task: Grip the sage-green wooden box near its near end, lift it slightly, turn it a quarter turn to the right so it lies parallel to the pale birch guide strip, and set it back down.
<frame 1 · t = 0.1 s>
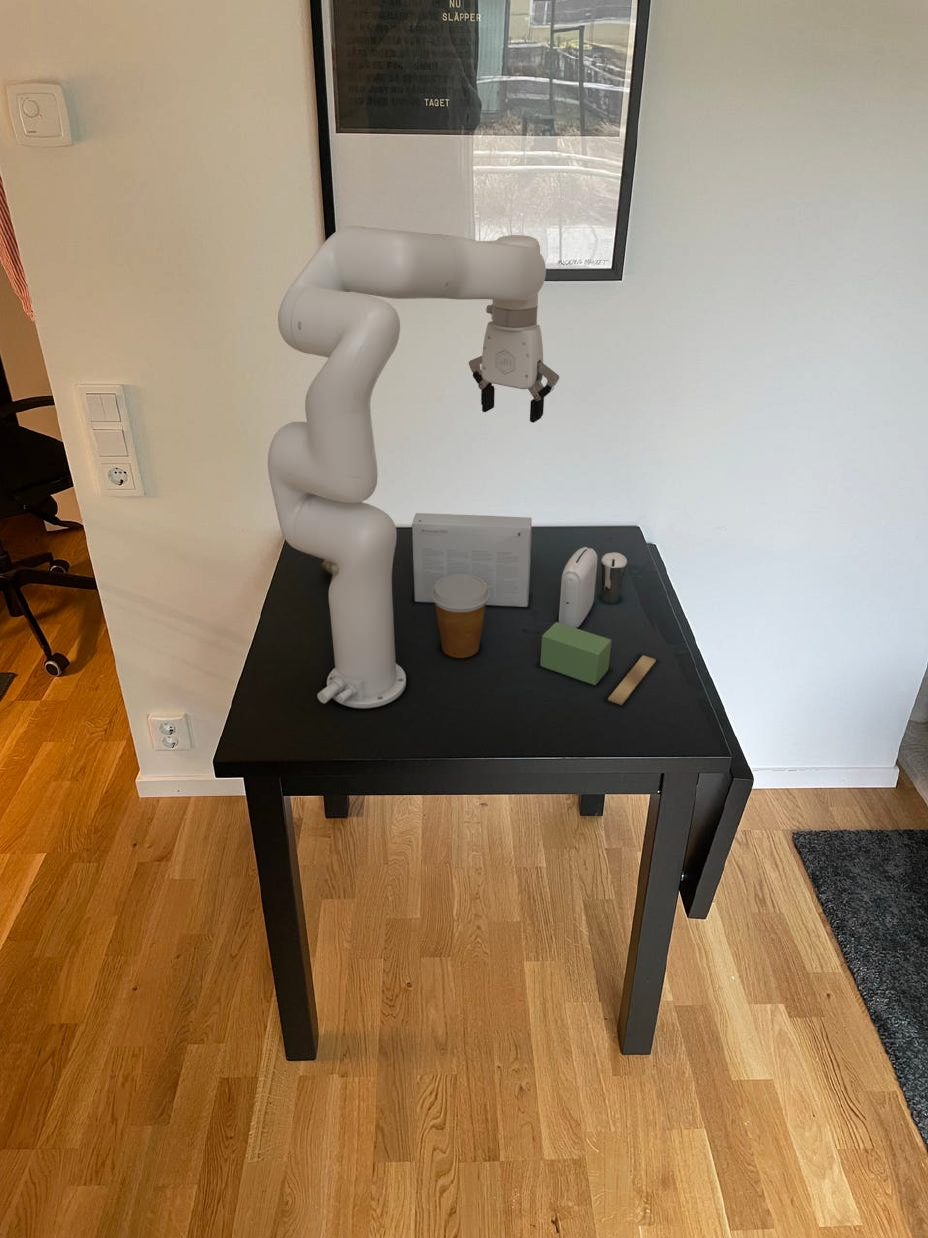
hand: (511, 414, 160), 31 cm above the table, tool pointing down, fingers open, 9 cm apart
milkshake: (609, 600, 167), on the table
disposable coffee cup: (460, 648, 153), on the table
guide strip: (632, 680, 146), on the table
ceramic sculpture: (351, 584, 171), on the table
green box: (574, 668, 148), on the table
skincare box: (471, 598, 167), on the table
photo printer: (576, 615, 162), on the table
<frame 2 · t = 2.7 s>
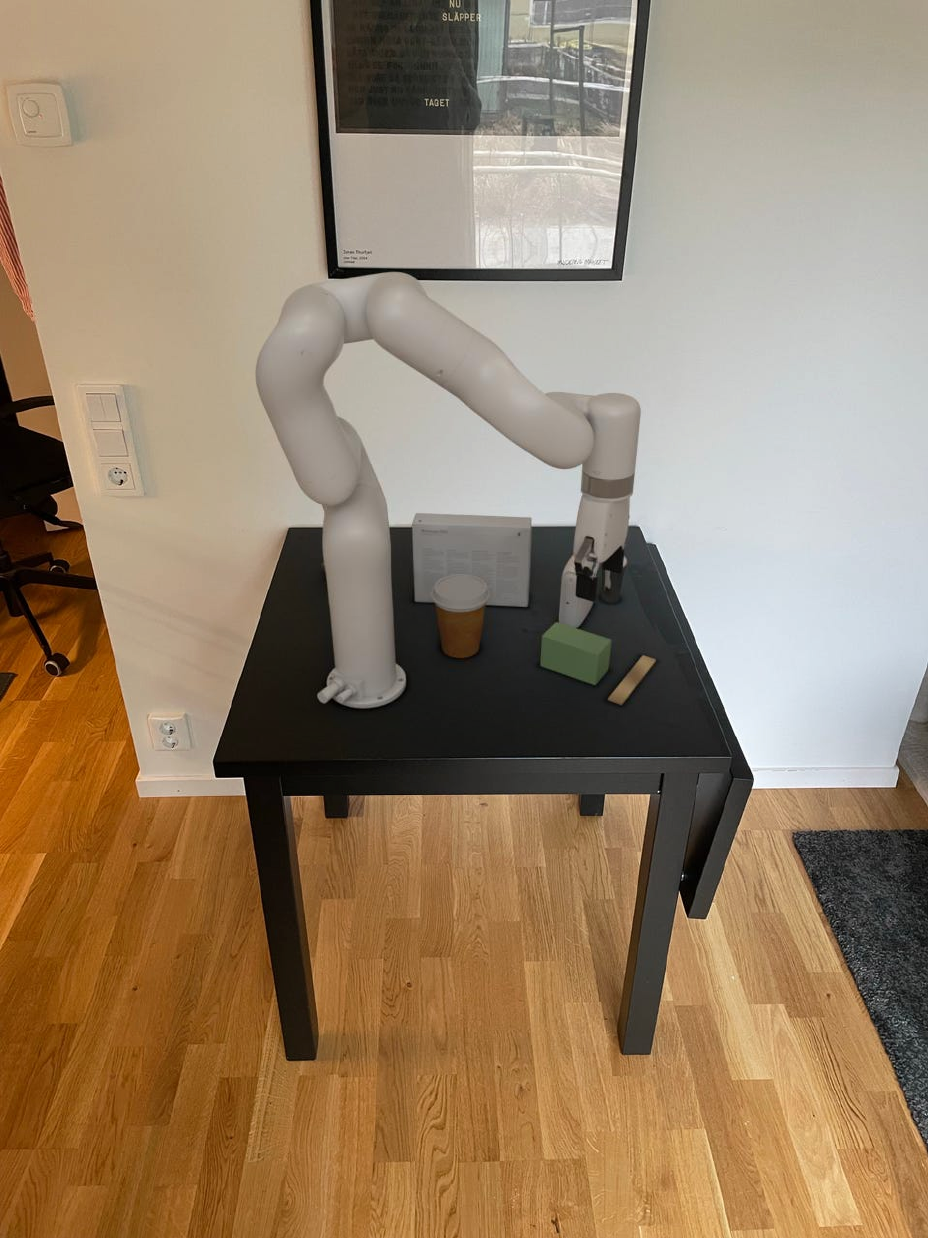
hand: (599, 584, 139), 17 cm above the table, tool pointing down, fingers open, 9 cm apart
nothing on the table moved.
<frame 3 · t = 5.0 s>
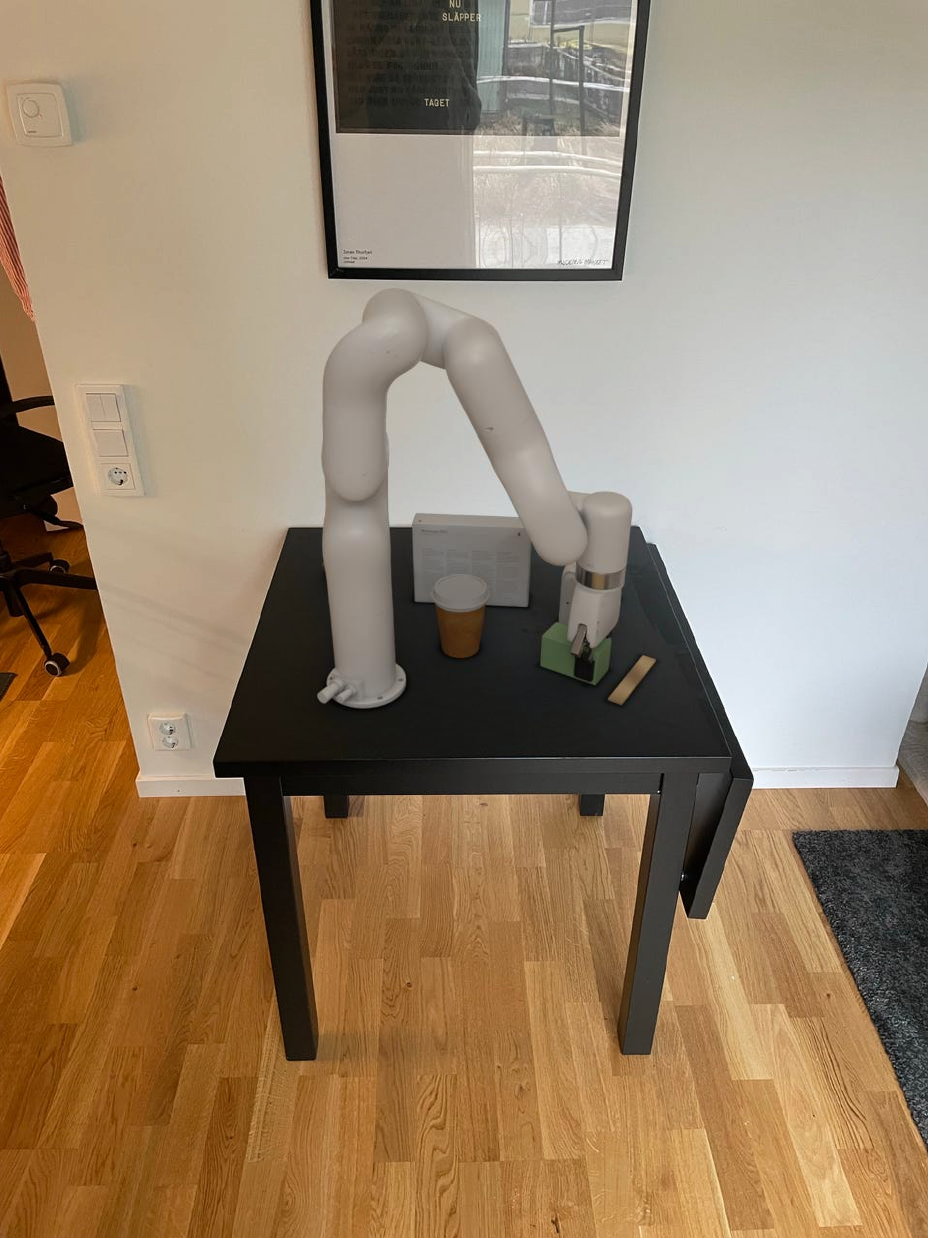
hand: (591, 668, 147), 1 cm above the table, tool pointing down, fingers closed on green box, 5 cm apart
green box: (574, 668, 148), on the table, touching gripper
everything else where it was.
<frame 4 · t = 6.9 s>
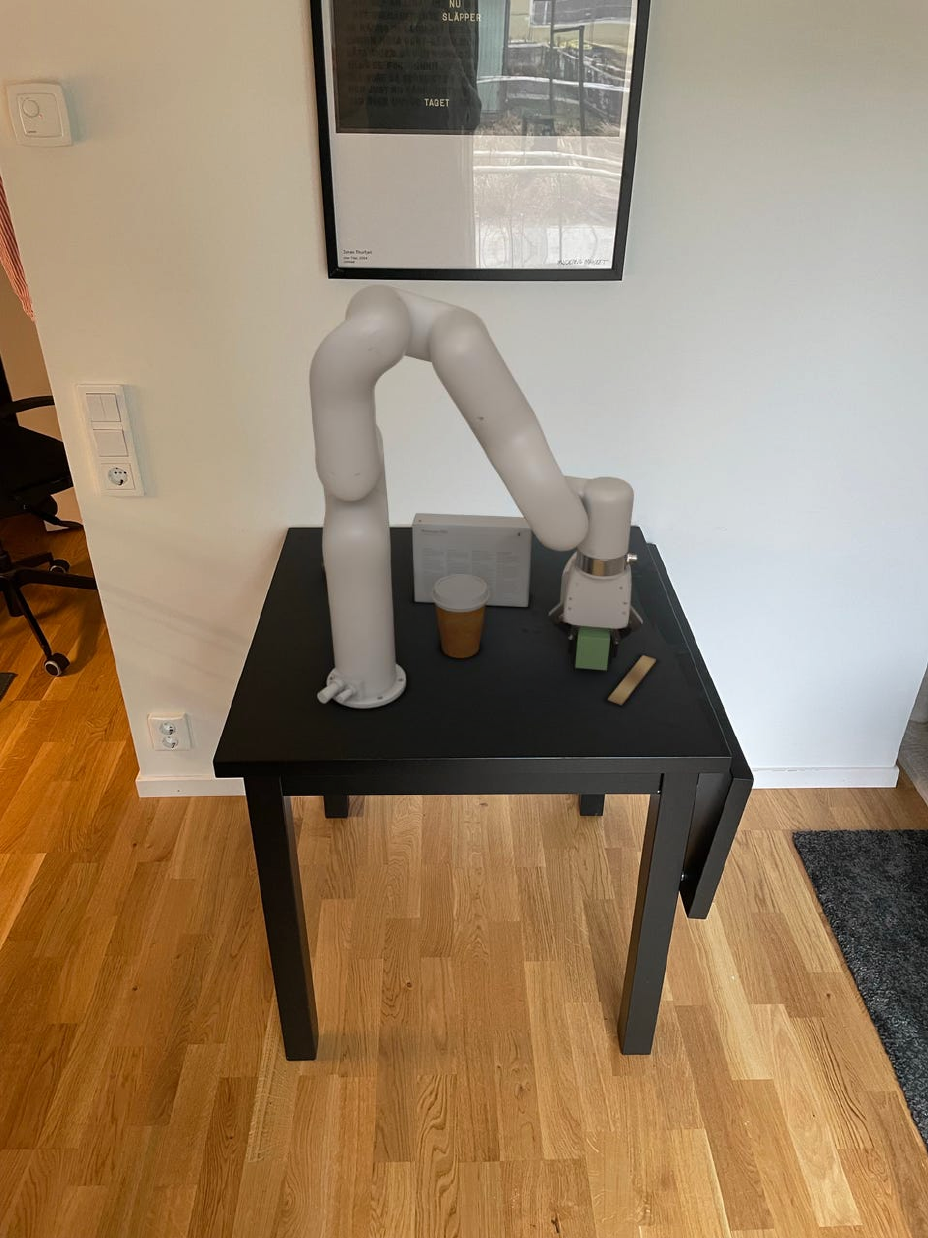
hand: (591, 657, 145), 3 cm above the table, tool pointing down, fingers closed on green box, 5 cm apart
green box: (591, 651, 148), point 2 cm above the table, touching gripper
everything else where it was.
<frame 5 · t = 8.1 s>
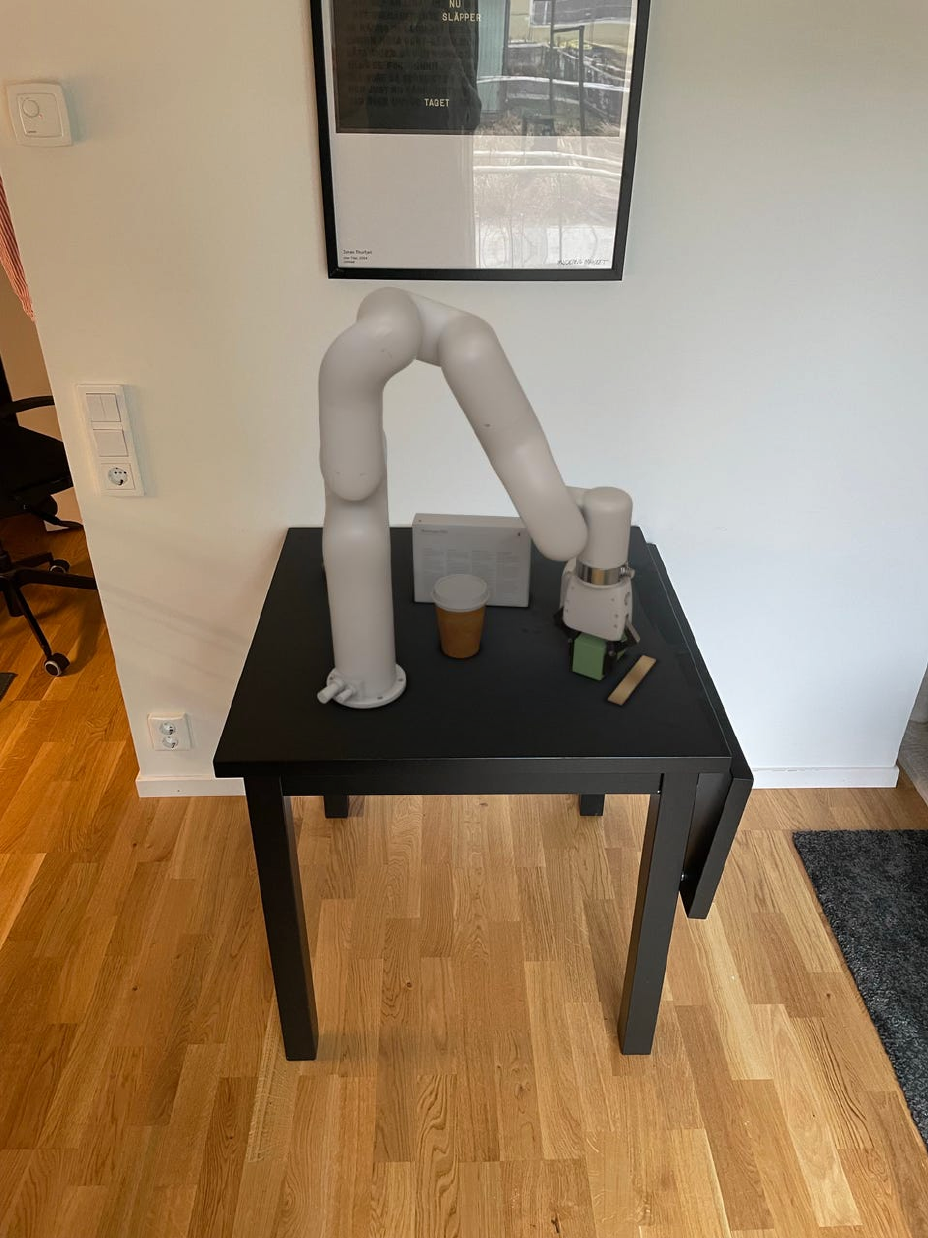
hand: (591, 664, 146), 2 cm above the table, tool pointing down, fingers closed on green box, 5 cm apart
green box: (599, 660, 149), point 1 cm above the table, touching gripper
everything else where it was.
when the fingers open (1 cm above the table, at t = 8.7 s): green box stays where it is, on the table.
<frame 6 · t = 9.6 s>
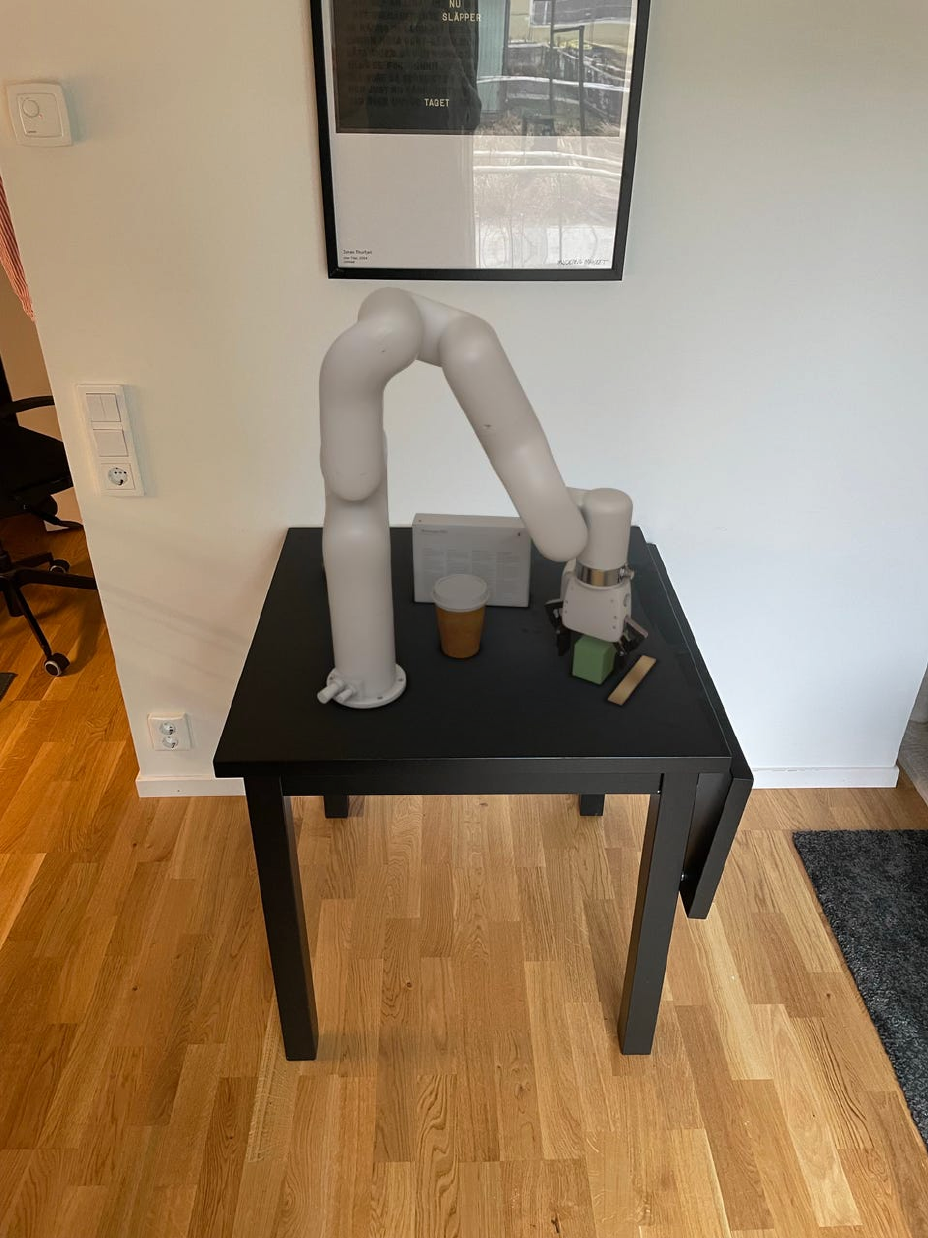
hand: (590, 661, 146), 2 cm above the table, tool pointing down, fingers open, 9 cm apart
green box: (599, 664, 149), on the table
everything else where it was.
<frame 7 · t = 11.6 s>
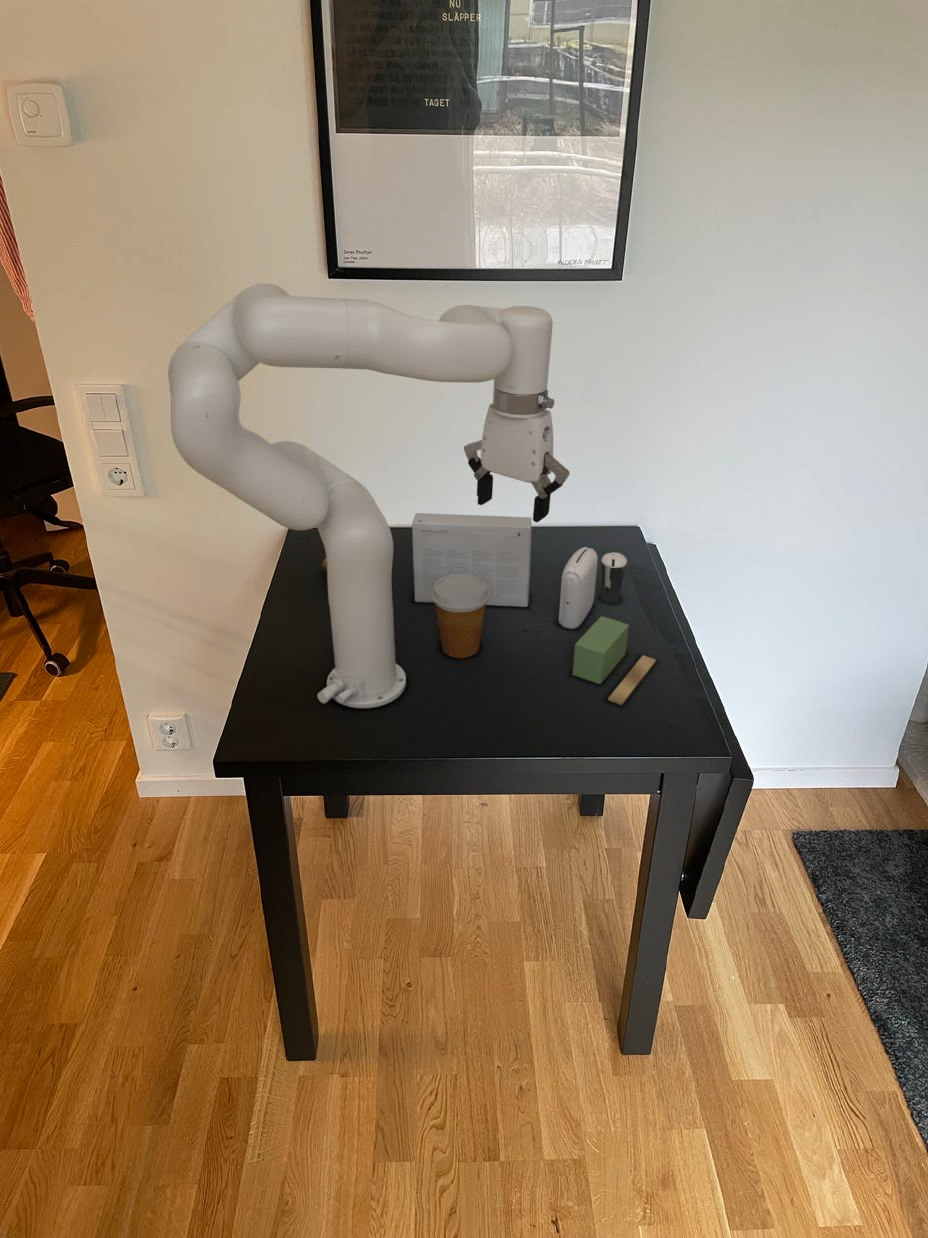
hand: (511, 510, 136), 27 cm above the table, tool pointing down, fingers open, 9 cm apart
nothing on the table moved.
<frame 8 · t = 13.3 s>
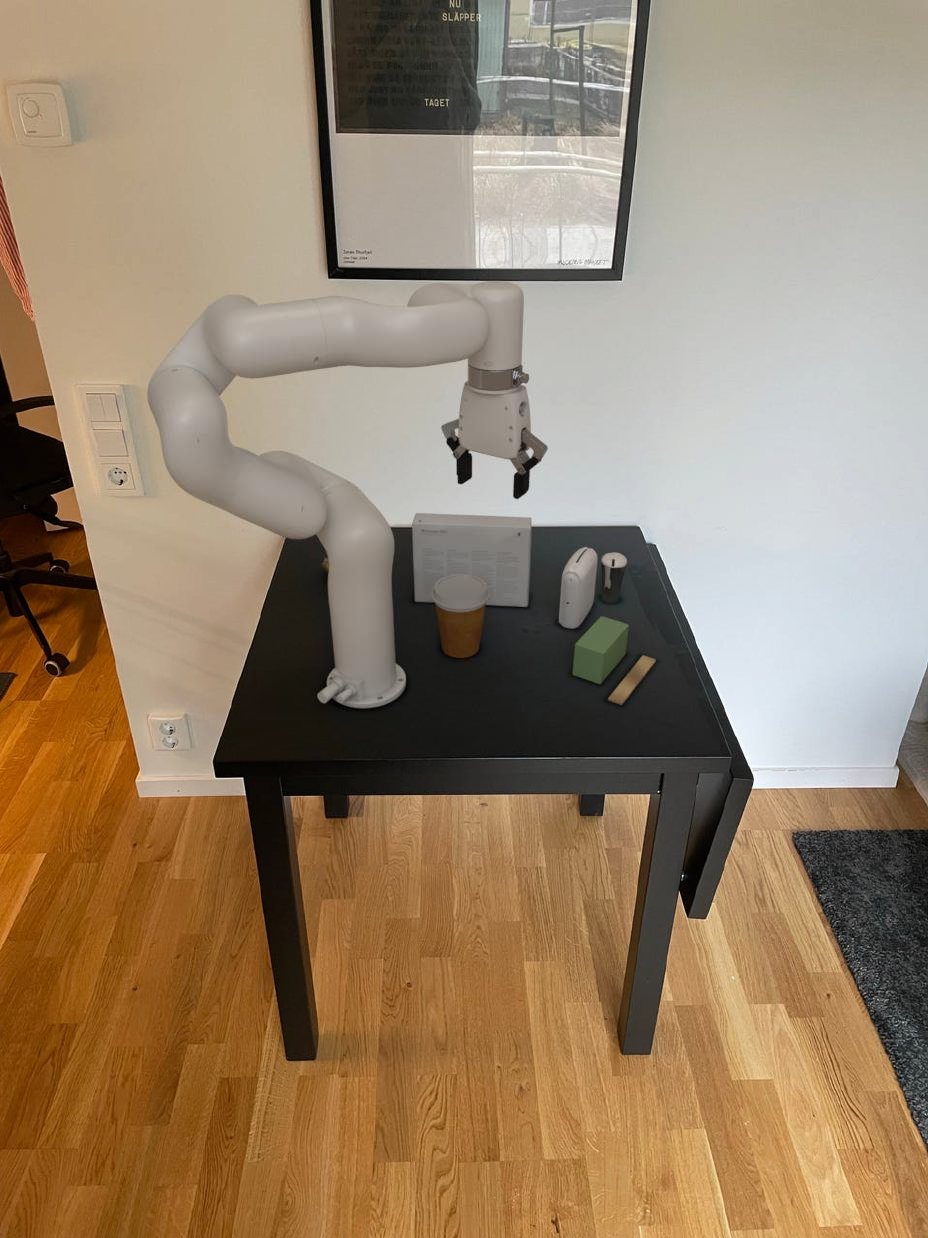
hand: (492, 488, 136), 30 cm above the table, tool pointing down, fingers open, 9 cm apart
nothing on the table moved.
at the end: green box 0.1 cm from the target spot, on the table; green box tilted 0°; the gripper is holding nothing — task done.
